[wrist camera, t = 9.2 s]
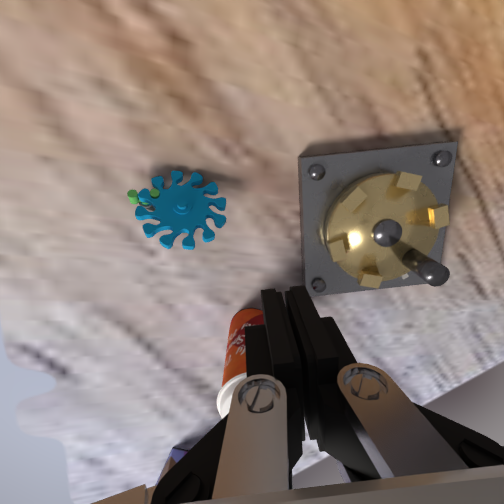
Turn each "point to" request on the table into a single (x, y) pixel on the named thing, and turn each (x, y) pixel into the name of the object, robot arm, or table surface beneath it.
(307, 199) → the base plate
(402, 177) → the brass paddle wheel
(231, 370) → the coffee cup
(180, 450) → the blue book
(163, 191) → the gear
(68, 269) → the table surface
